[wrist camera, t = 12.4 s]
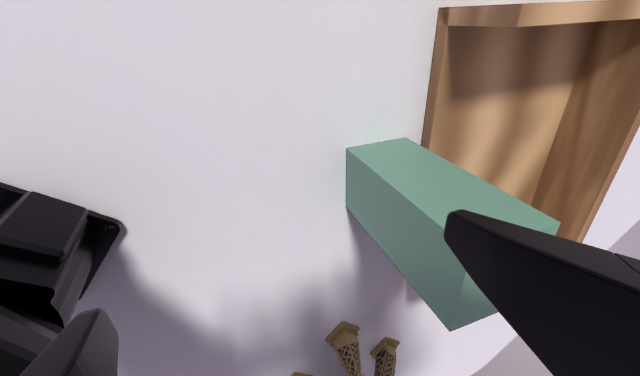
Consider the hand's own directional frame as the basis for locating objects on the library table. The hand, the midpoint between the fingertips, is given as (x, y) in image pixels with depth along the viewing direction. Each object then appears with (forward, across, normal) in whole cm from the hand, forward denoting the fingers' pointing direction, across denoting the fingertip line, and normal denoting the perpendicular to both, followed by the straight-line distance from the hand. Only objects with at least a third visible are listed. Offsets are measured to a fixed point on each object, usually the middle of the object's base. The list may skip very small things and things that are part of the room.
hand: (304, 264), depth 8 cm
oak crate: (+13, -21, +5) cm, 25 cm away
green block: (+13, -10, +5) cm, 17 cm away
